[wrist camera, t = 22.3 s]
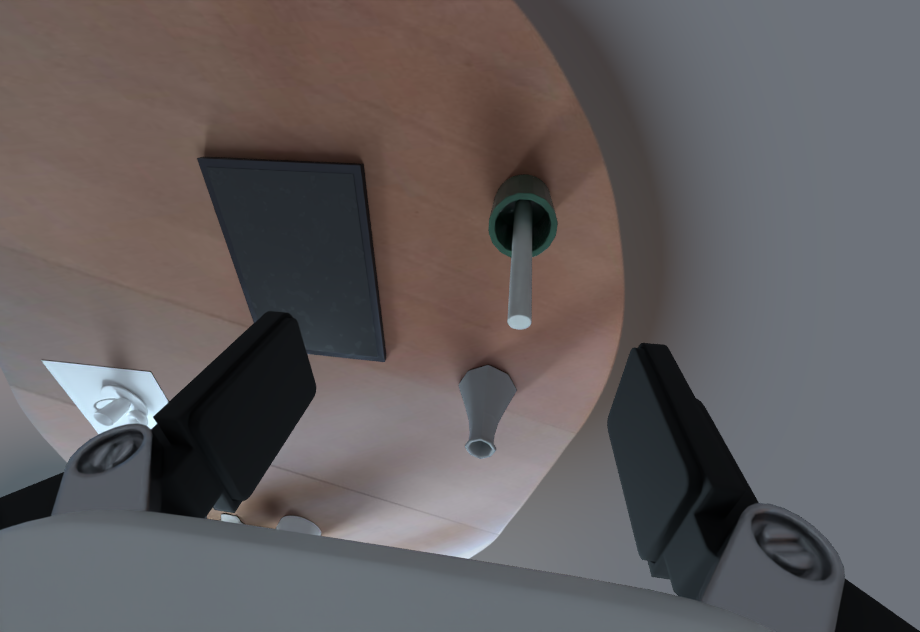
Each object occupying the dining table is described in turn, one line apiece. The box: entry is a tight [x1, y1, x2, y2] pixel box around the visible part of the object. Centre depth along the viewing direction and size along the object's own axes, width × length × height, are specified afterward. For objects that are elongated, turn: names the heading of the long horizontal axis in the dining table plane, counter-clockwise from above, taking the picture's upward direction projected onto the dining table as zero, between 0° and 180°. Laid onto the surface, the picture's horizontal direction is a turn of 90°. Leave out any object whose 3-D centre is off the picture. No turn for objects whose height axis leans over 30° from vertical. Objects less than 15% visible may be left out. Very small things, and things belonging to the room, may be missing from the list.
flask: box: [459, 365, 517, 459], centre depth 44 cm, size 7×7×10 cm
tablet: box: [197, 157, 386, 362], centre depth 42 cm, size 24×17×1 cm
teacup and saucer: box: [92, 384, 149, 427], centre depth 60 cm, size 9×8×4 cm
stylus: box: [508, 199, 532, 329], centre depth 29 cm, size 2×2×15 cm
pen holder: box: [489, 174, 558, 257], centre depth 32 cm, size 5×5×7 cm
